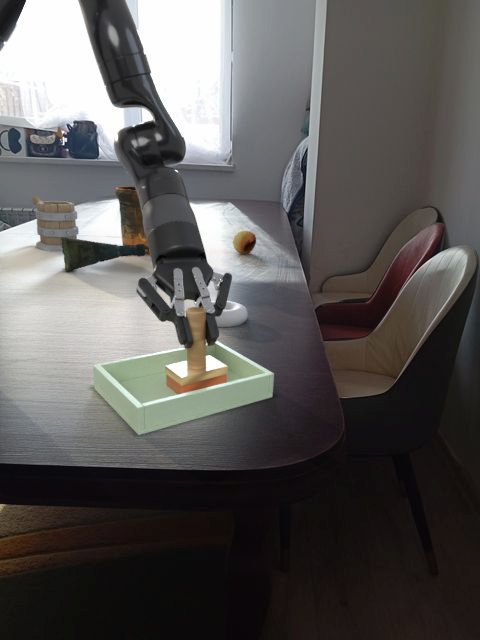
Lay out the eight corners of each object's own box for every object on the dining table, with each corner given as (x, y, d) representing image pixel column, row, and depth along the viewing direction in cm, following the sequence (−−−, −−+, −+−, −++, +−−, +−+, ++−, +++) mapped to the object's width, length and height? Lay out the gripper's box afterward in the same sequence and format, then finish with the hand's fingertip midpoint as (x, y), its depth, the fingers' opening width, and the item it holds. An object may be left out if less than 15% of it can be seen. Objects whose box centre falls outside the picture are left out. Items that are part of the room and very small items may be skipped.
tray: (138, 437, 59) (137, 408, 58) (94, 390, 70) (92, 364, 69) (272, 398, 71) (274, 373, 69) (216, 363, 81) (217, 340, 80)
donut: (251, 330, 98) (242, 313, 107) (252, 312, 97) (243, 297, 106) (199, 331, 96) (194, 314, 105) (199, 313, 95) (194, 298, 104)
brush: (181, 398, 67) (179, 318, 63) (165, 385, 71) (162, 309, 67) (227, 385, 72) (228, 310, 68) (210, 374, 75) (209, 301, 71)
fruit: (256, 253, 174) (257, 229, 171) (253, 257, 166) (255, 232, 163) (234, 251, 174) (235, 227, 171) (230, 256, 166) (231, 231, 164)
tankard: (88, 248, 165) (84, 200, 160) (50, 252, 156) (45, 201, 151) (56, 240, 177) (52, 194, 172) (20, 243, 168) (14, 195, 163)
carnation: (69, 301, 136) (198, 288, 147) (63, 267, 119) (209, 256, 131) (62, 249, 140) (188, 241, 152) (55, 209, 124) (197, 203, 135)
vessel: (148, 259, 155) (146, 190, 148) (108, 254, 159) (104, 186, 152) (172, 252, 167) (171, 188, 160) (134, 247, 172) (132, 185, 165)
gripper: (125, 219, 67) (152, 338, 61) (225, 218, 73) (259, 326, 67) (120, 252, 73) (143, 363, 67) (212, 249, 79) (241, 350, 73)
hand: (201, 344), depth 67 cm, fingers closed on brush, 2 cm apart
